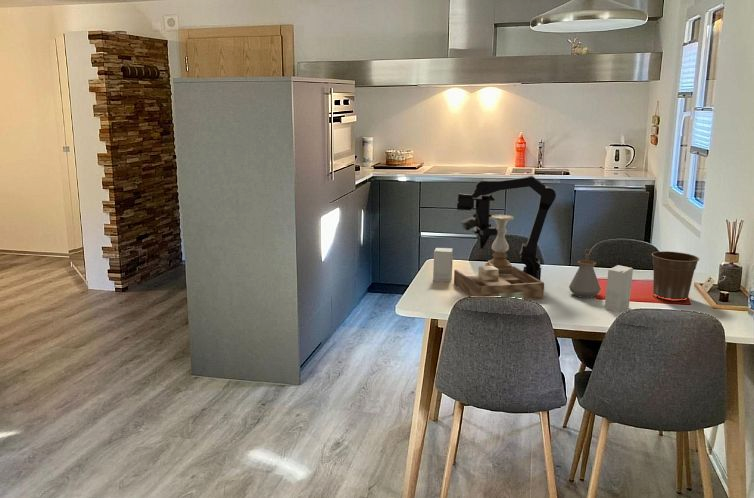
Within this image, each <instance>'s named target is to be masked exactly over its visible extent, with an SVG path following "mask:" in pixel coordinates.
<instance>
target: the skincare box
mask: <svg viewBox="0 0 754 498" xmlns="http://www.w3.org/2000/svg"><path fill="white" fill-rule="evenodd" d="M633 272H634V268H632V267H630V266H629V267H628V266H623V265H619V264H617V265H615V266H614V267H611V268H609V269H608V271H607V281H606V282H607V283H606V290H605V301H604V309H606V310H608V309H609V311H613V312H618V313H621V312H622V311H624V310H626V309H628V308H629V307H630V303H631V302H630V300H631V292H632V291H631V290H632V284H633V283H632V282H633Z"/></svg>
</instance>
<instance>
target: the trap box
mask: <svg viewBox="0 0 754 498" xmlns="http://www.w3.org/2000/svg"><path fill="white" fill-rule="evenodd" d="M453 270H454V272H453V285H454V286H456V287H457V288H458V287H459V288H458V289H459V290H461V291H462V292H464V294H466V293H467V294H468V295H467V294H466V295H467V296H469V297H470V296H501V297H515V298H522V299H526V300H538V299H539V300H540V299H544V293H545V282H544V281H542V280H541V279H540V280H538V279H536V278H535V277H533V276H531V275H529V274H527V273H526V272H524V271H523V270H521V268H518V267H517V266H514V265H513V266H512V274H498V279H493V280H483V279H482V278H480V277H479V276H478V275H465V274H464V273H463V272H461V271H459V269H453Z"/></svg>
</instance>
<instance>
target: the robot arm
mask: <svg viewBox="0 0 754 498" xmlns="http://www.w3.org/2000/svg"><path fill="white" fill-rule="evenodd" d="M526 187H527V188H528V187H530V189H532V190H533V191H534V192H536V193H537V194H538V195H539V199H538V208H537V211H536V214H535V217H534V220H533V223H532V225H531V226H532V227H531V230H530V232H529V233H530V234H529V236H528V240H527V242H526V243H524V242H522V244H521V249H520V251H519V256H520V260H521V261H520V262H521V263H522V264H524V265H525V266H523V270H522V271H524V272H526V273H527V274H529V275H531V276H533V277H535V278H536V279H538V280H540V281H541V276H542V275H541V274H542V267H541V262H540V259H538V257H537V248H538V242H539V240H540V236H541V233H542V230H543V227H544V225H545V224H544V223H545V222H546V221H545V220H546V217H547V214H548V211H550V208H551V207H552V205H553V203H554V202H555V200H556V197H557V194H556V191H555V189H554V188H553V187H551V186H548V185H545V184H543V183H542V182H541V181H539V179H537V178H536V177H535V176H533V175H528V176H523V177H515V178H514V177H513V178H507V179H499V180H498V179H485V178H484V179H480V180H479V181H478V182H477V185H476V188H475V190H474V191H472V193H471V194H470V193H460V192H459V193H458V196H457V203H456V210H457V211H468V212H469V211H470V212H471V211H472V210H473V209H474V208H475V212H473V213H472V216H471V217H468V218H466V219H464V220H461V221H460V224H461V226H462V228H463V229H462V230H465V231H470V230H471V229H473V230H472V231H471V232H472V233H473V234H474V235H475V236H476V239H477V243H478V248H479V249H480V250H483V249H484V247H485V246H486V243H487V241H488V240H489V238H490V236H491V237H492V236H497V235H498V230H497V229H496V228H497V227H494V226H492V224H491V223H490V220H491V219H490V217H491V215H493V214H492V213H490V212H491V201H493V202H494V201H495V200H496V197H495V196H493V195H492V194H493V193H496V192H498V191H499V192H500V191H503V190H513V189H519V188H521V189H522V188H526ZM480 196H481V197H480Z"/></svg>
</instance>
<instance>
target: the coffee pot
mask: <svg viewBox="0 0 754 498" xmlns="http://www.w3.org/2000/svg"><path fill="white" fill-rule="evenodd" d="M591 252H592V251H591V250H590V249H589V248H586V249H585V251H584V253H585V255H584V256H585V258H584V260H578V261H577V263H578V266H579V267H578V269H577V271H576V272H575V274H574V276H573V278H572V280H571V282H570V283H569V286H568V287H569V290H570V292H571V293H572V294H573V296H575V297H578V298H584V299H588V298H589V299H591V298H595V297H594V296H597V295H598V294H599V293H600V292H601V290H602V289H601V286H600V284H599V280H598V277H597V275H596V272H595V269H594V268H595V266H596V265H597V262H595V261H593V260H592V261H591V260H589V257H590V255H589V253H591Z"/></svg>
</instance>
